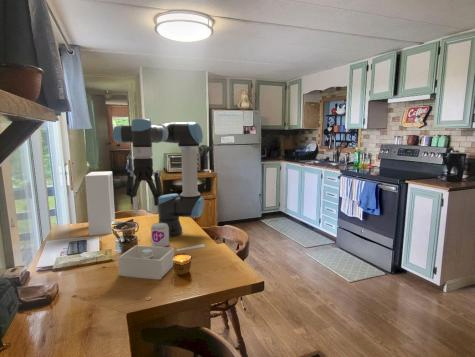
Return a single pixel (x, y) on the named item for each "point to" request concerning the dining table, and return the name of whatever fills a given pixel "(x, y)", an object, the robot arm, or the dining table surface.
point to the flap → (133, 257)
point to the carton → (146, 262)
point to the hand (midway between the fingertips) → (145, 212)
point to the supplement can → (160, 235)
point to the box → (100, 202)
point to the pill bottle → (147, 254)
